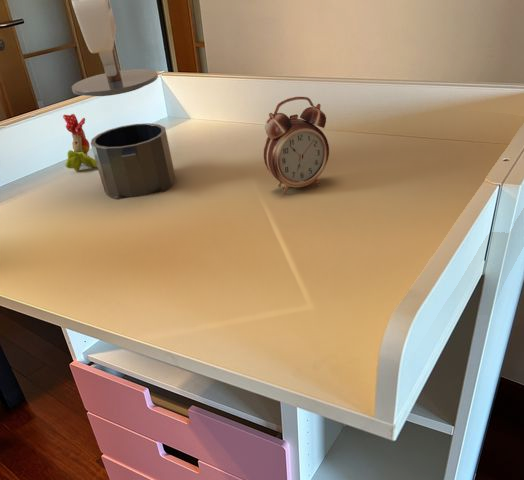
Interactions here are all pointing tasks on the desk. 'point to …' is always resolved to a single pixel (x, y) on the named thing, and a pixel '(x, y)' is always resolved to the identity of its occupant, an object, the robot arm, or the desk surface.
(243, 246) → the desk surface
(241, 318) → the desk surface
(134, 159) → the pot
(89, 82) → the lid
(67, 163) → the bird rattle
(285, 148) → the alarm clock
